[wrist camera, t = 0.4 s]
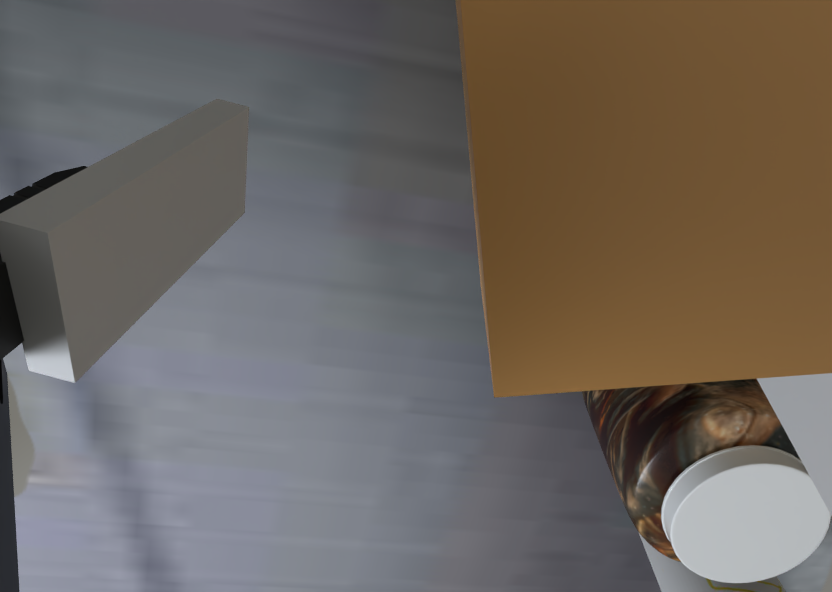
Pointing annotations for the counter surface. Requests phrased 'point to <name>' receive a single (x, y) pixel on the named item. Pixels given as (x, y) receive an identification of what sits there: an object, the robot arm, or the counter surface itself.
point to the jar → (710, 477)
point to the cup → (698, 577)
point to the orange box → (650, 189)
